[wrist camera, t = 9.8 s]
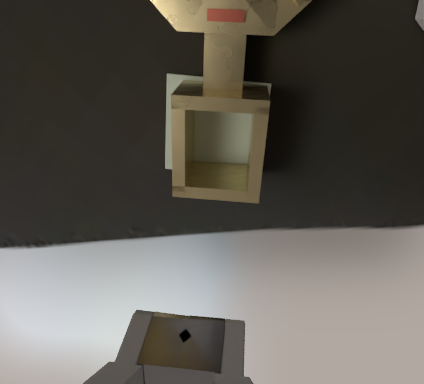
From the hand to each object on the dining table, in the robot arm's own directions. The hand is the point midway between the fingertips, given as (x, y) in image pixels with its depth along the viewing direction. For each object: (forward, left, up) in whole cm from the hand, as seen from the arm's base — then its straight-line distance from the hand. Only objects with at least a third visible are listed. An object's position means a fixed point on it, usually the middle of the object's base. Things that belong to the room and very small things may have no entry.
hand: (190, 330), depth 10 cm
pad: (+1, 0, -18) cm, 18 cm away
